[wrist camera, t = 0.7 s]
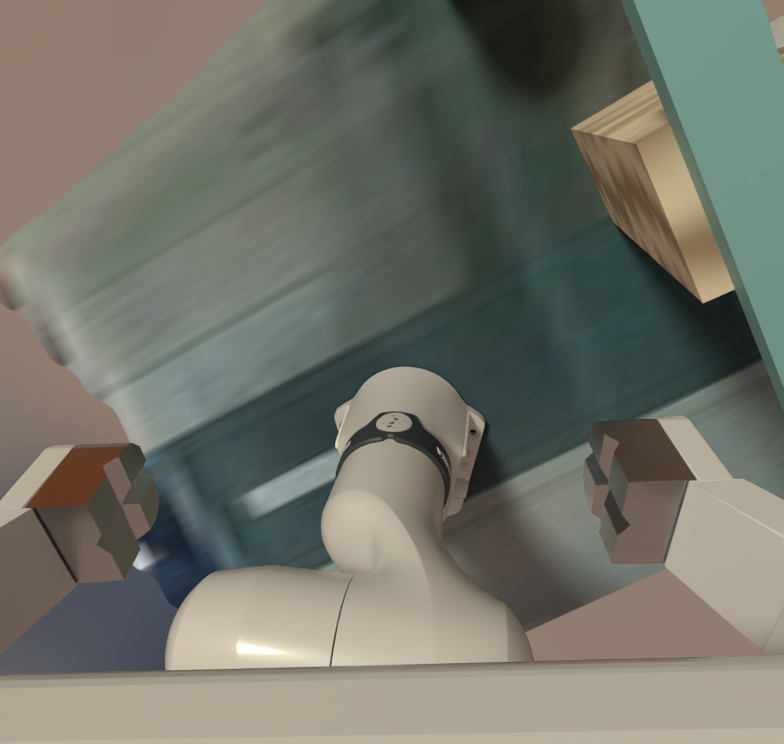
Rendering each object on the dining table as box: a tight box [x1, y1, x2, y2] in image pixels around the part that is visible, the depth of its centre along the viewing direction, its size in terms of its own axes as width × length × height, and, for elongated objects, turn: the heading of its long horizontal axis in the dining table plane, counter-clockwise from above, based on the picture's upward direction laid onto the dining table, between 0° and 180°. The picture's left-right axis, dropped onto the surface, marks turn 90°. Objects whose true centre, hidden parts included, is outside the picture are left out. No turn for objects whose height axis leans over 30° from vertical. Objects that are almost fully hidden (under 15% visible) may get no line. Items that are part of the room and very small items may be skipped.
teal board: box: [621, 0, 784, 412], centre depth 28 cm, size 28×4×2 cm, turn 32°
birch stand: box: [571, 54, 784, 303], centre depth 40 cm, size 10×8×26 cm
